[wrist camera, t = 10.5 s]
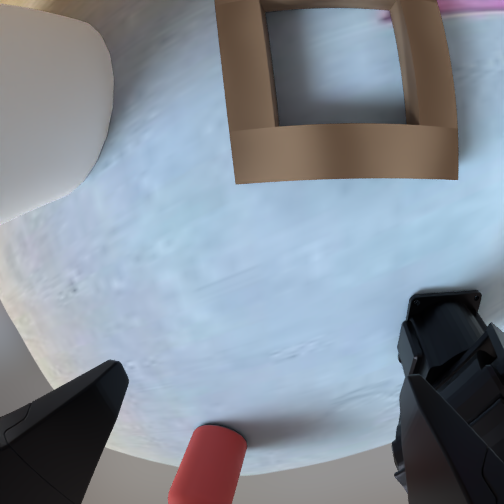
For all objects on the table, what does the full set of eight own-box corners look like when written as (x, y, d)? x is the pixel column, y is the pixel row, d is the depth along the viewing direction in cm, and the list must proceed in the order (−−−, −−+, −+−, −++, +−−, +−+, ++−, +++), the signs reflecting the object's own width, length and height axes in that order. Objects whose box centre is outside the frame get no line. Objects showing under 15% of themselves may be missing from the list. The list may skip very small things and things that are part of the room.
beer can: (192, 416, 30) (155, 502, 20) (248, 428, 29) (222, 521, 19) (198, 443, 33) (168, 517, 22) (247, 453, 32) (226, 533, 21)
